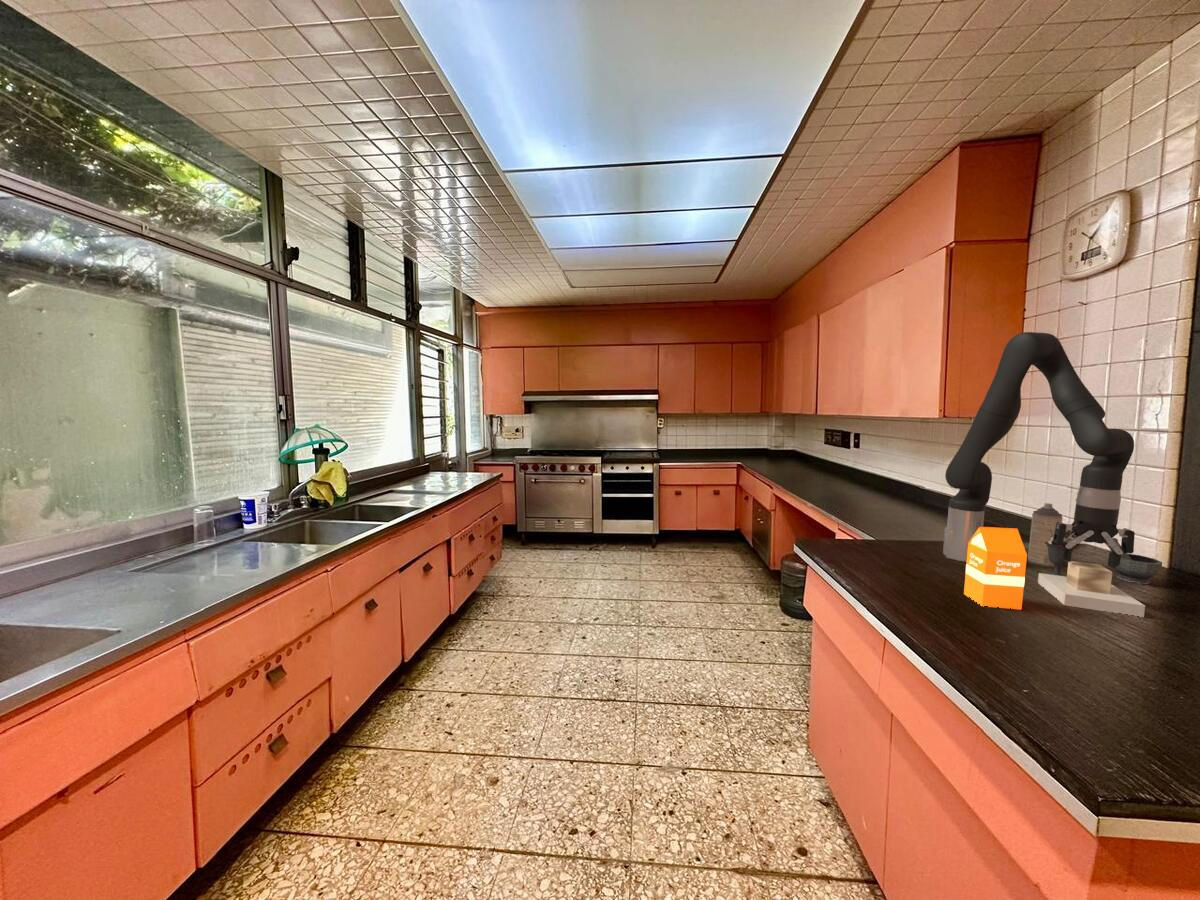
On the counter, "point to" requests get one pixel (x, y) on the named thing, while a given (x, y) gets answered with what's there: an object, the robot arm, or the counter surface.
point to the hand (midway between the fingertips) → (1088, 563)
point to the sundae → (1056, 556)
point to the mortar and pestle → (1137, 567)
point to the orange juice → (996, 568)
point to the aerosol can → (1042, 534)
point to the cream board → (1091, 597)
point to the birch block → (1089, 577)
